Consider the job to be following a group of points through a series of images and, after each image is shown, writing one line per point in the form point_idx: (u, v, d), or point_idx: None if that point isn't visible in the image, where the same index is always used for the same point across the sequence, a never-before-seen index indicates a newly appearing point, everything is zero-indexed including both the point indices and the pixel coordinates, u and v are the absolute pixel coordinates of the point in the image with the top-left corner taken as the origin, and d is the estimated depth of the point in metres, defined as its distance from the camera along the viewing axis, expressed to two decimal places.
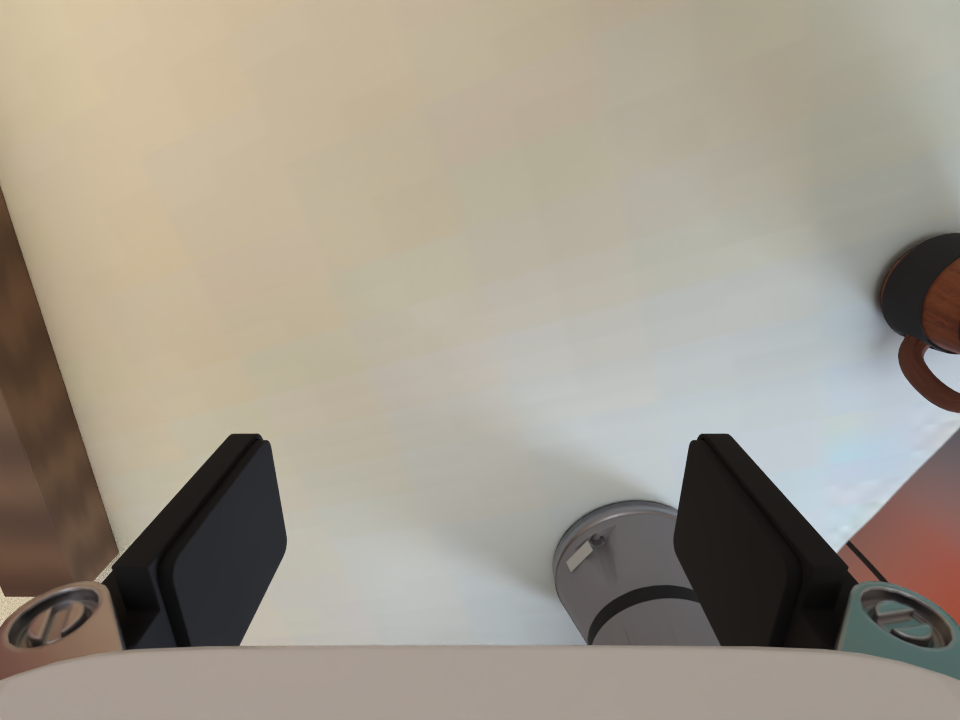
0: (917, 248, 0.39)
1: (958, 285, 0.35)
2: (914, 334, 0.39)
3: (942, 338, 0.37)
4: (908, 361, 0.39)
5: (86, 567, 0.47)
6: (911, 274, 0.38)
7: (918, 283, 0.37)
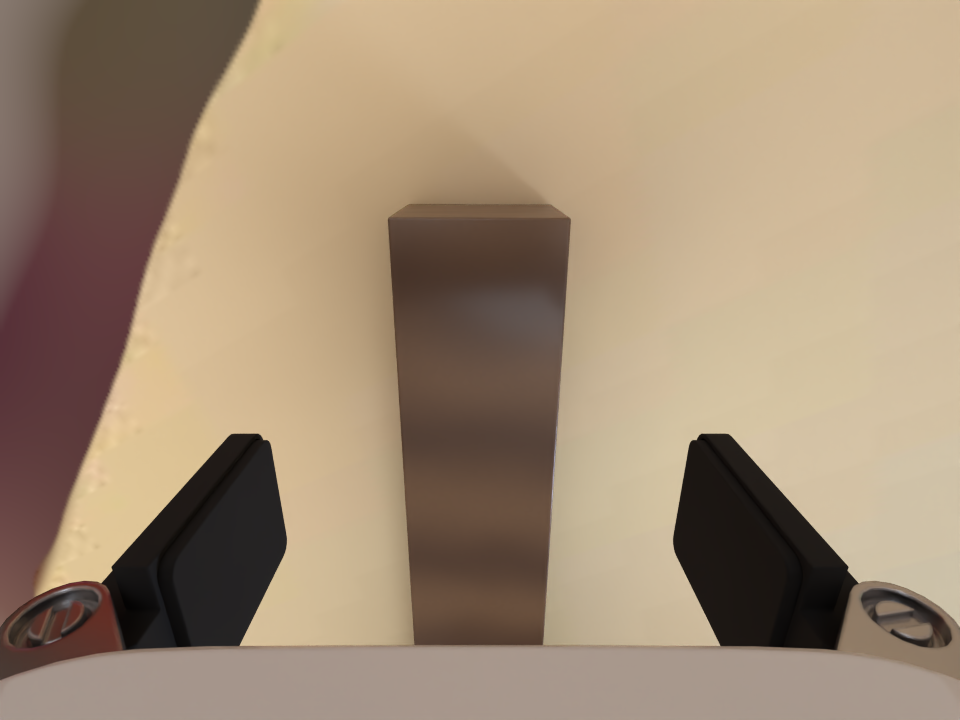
0: None
1: None
2: None
3: None
4: None
5: None
6: None
7: None
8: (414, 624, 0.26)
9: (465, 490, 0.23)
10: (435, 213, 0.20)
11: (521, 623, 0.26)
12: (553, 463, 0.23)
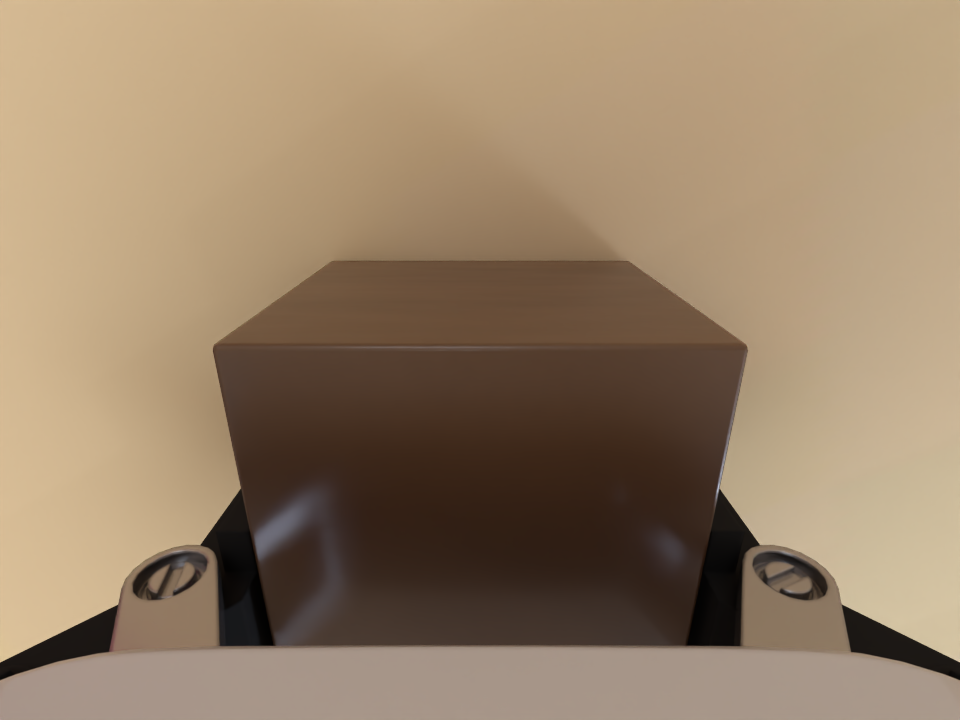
0: None
1: None
2: None
3: None
4: None
5: None
6: None
7: None
8: None
9: None
10: (365, 312, 0.08)
11: None
12: None
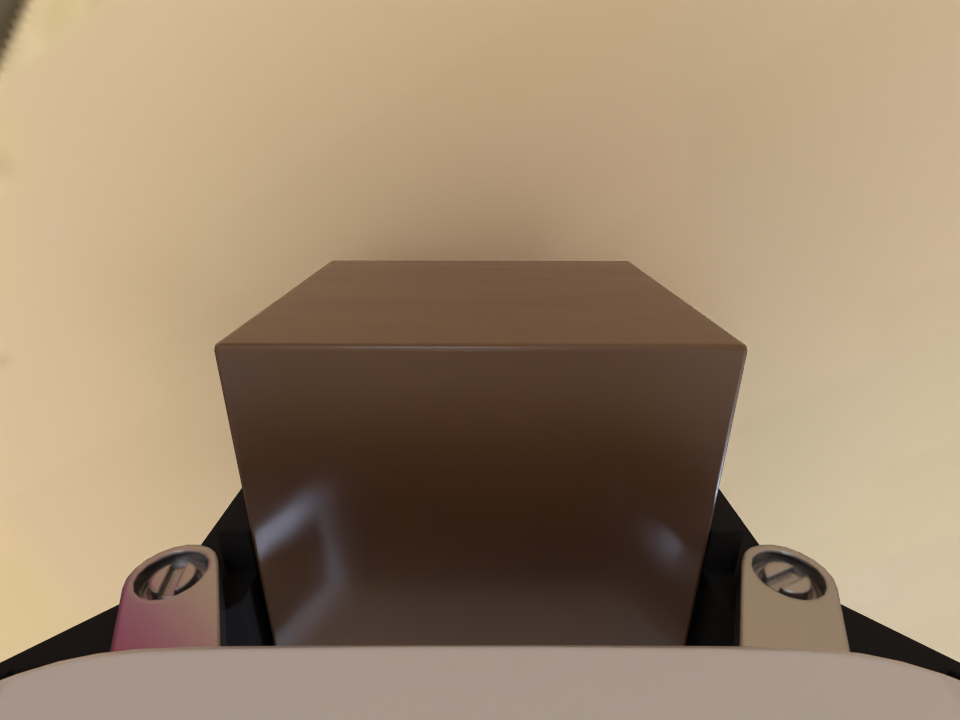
0: None
1: None
2: None
3: None
4: None
5: None
6: None
7: None
8: None
9: None
10: (366, 312, 0.08)
11: None
12: None
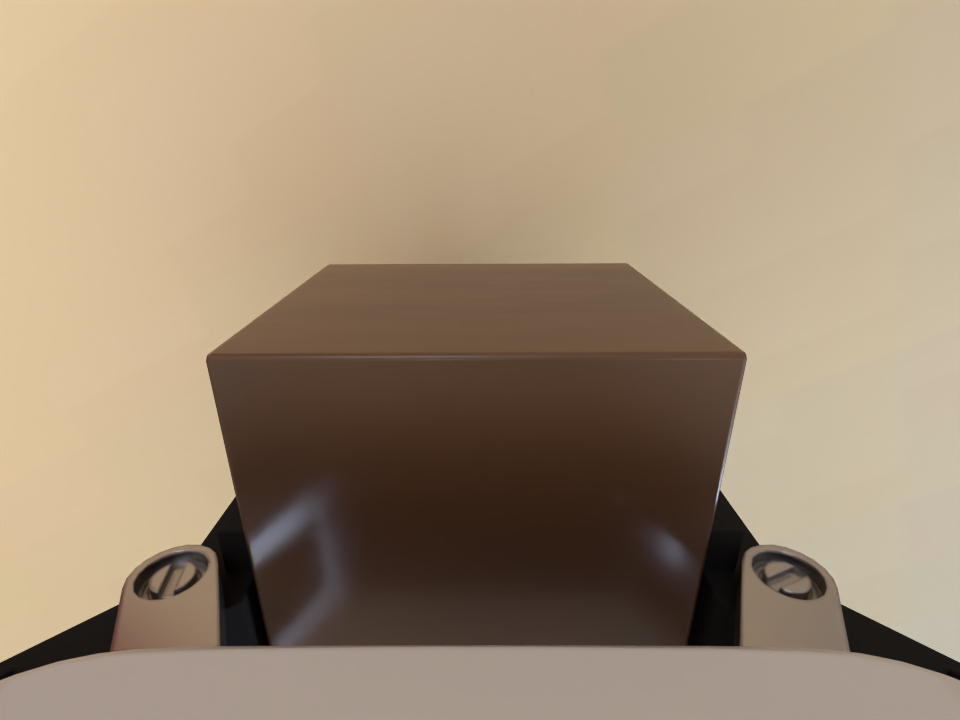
0: None
1: None
2: None
3: None
4: None
5: None
6: None
7: None
8: None
9: None
10: (361, 319, 0.08)
11: None
12: None
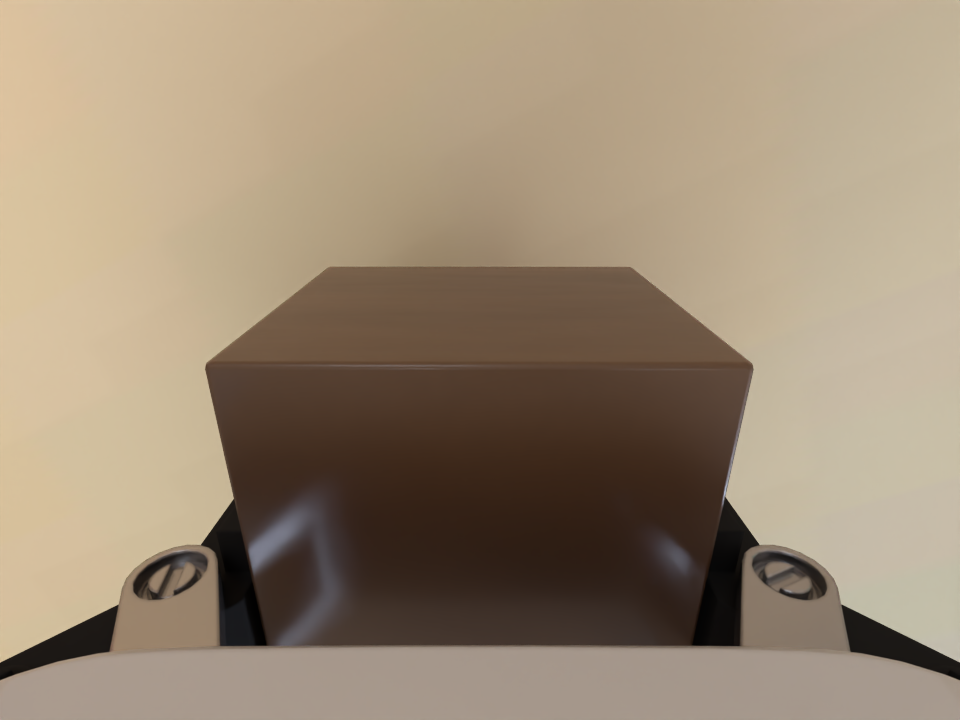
0: None
1: None
2: None
3: None
4: None
5: None
6: None
7: None
8: None
9: None
10: (362, 325, 0.08)
11: None
12: None
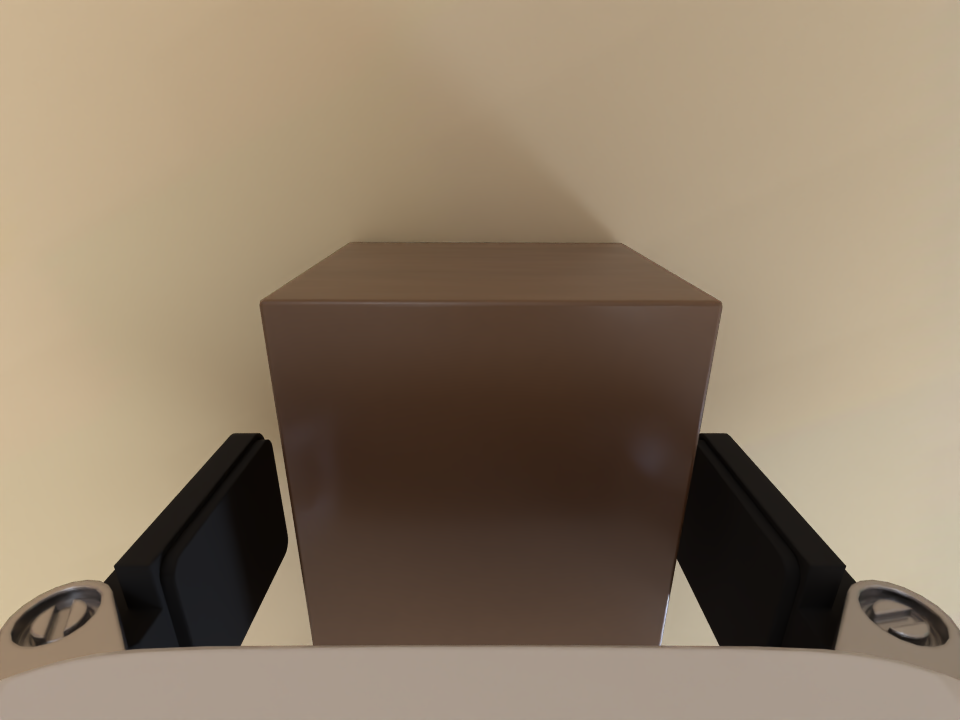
0: None
1: None
2: None
3: None
4: None
5: None
6: None
7: None
8: None
9: None
10: (387, 278, 0.09)
11: None
12: None
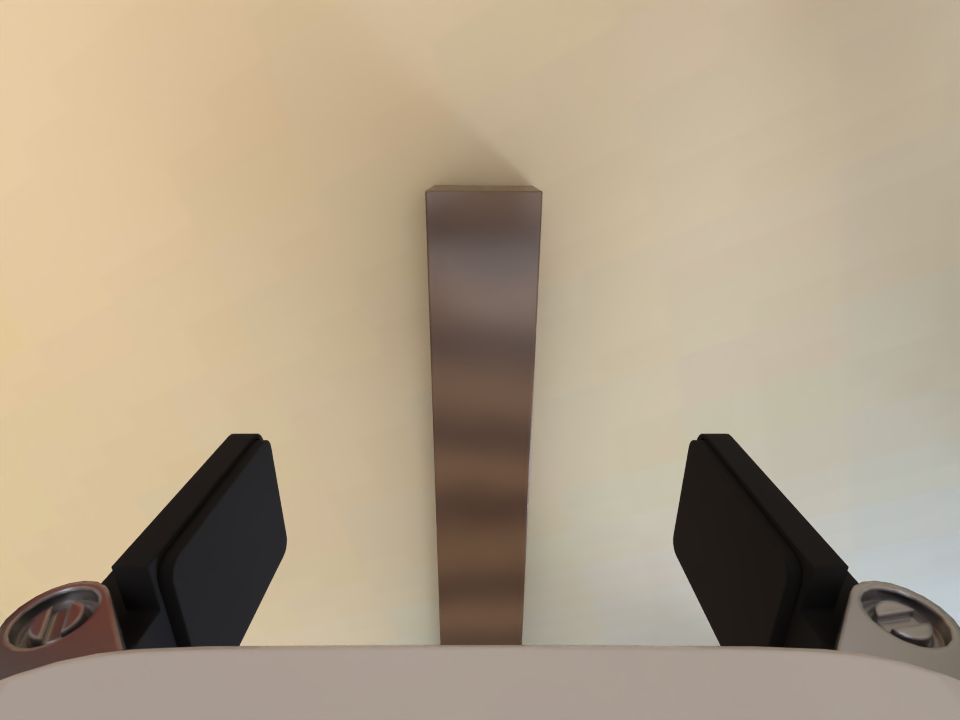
0: None
1: None
2: None
3: None
4: None
5: None
6: None
7: None
8: (436, 486, 0.37)
9: (473, 381, 0.34)
10: (454, 189, 0.31)
11: (512, 485, 0.37)
12: (533, 361, 0.33)
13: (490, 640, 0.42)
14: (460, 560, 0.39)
